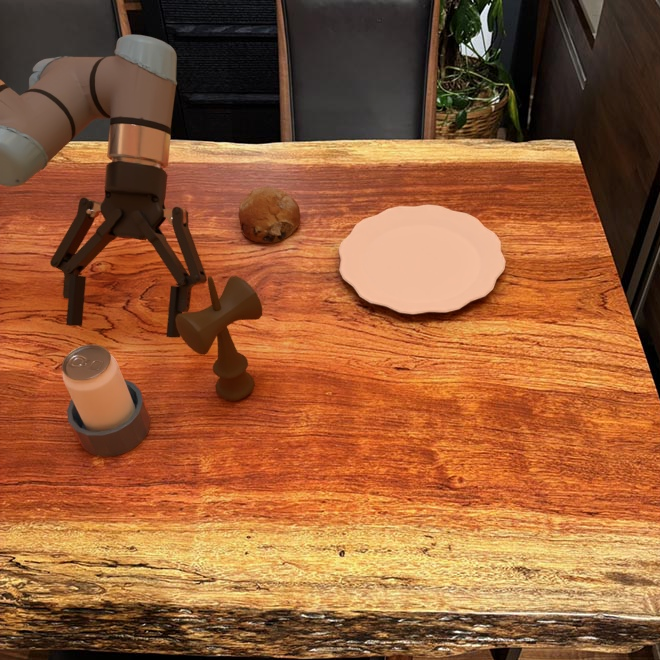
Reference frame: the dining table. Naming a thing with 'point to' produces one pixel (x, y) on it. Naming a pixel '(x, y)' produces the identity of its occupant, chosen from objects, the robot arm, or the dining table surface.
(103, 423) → the can
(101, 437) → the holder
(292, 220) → the bread roll
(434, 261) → the plate
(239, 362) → the kendama
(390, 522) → the dining table surface
